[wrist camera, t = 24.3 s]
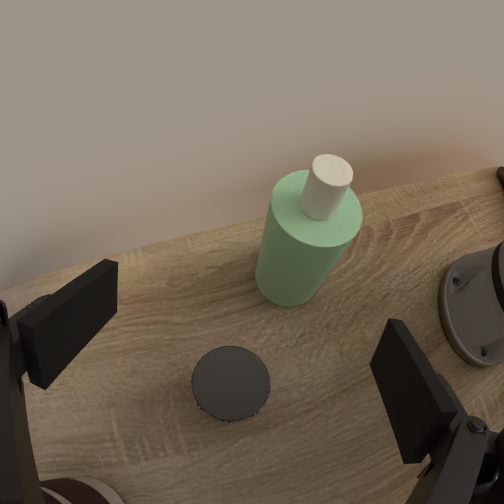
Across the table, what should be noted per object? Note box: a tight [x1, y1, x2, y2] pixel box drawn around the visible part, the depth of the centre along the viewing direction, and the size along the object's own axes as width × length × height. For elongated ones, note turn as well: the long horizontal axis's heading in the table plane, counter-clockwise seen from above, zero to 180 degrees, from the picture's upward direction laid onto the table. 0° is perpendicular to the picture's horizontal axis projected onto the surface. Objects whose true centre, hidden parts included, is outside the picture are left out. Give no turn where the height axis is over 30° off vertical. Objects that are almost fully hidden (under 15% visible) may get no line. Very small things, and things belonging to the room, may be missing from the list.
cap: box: [191, 346, 271, 423], centre depth 25 cm, size 5×5×9 cm
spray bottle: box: [255, 154, 362, 307], centre depth 27 cm, size 7×7×17 cm
